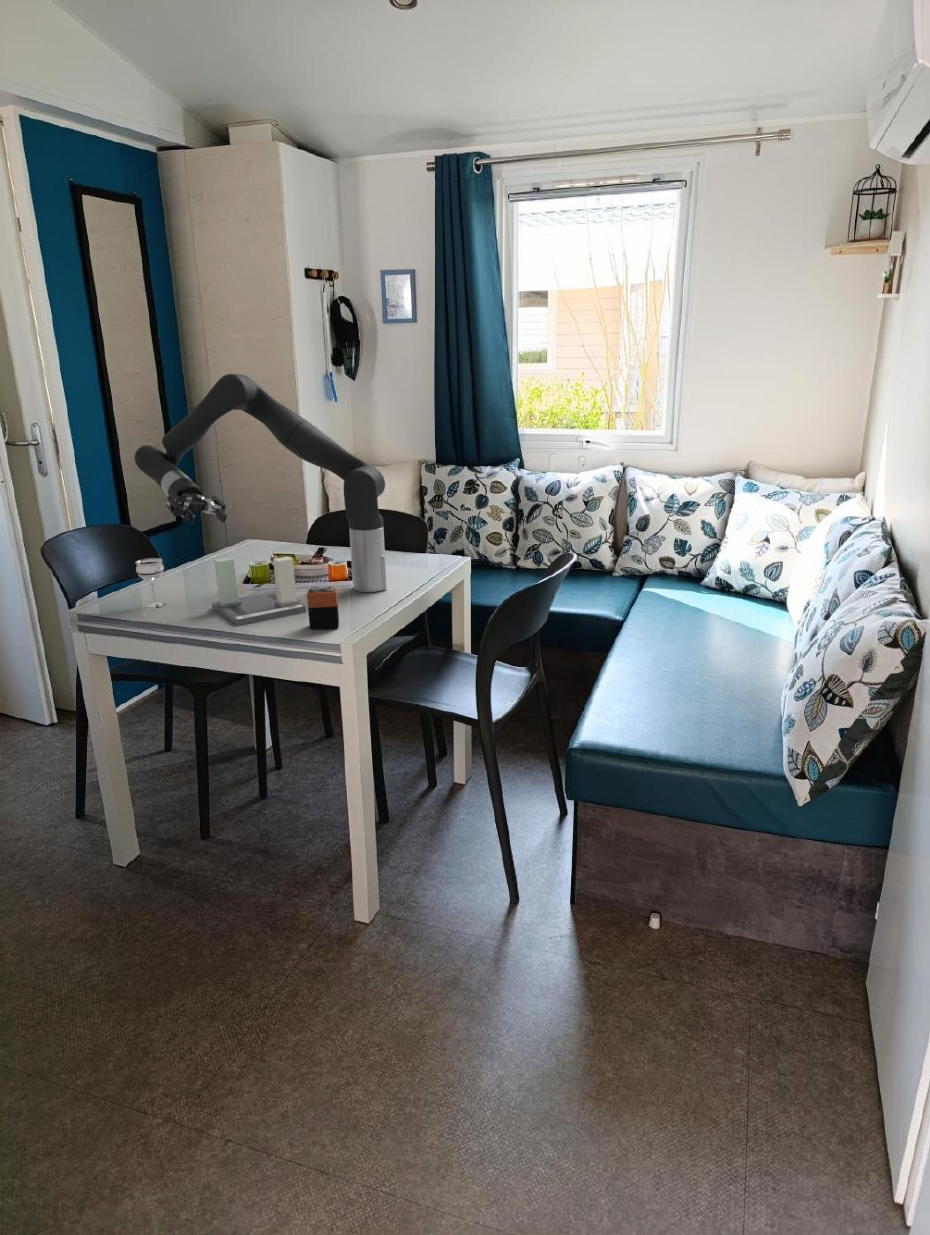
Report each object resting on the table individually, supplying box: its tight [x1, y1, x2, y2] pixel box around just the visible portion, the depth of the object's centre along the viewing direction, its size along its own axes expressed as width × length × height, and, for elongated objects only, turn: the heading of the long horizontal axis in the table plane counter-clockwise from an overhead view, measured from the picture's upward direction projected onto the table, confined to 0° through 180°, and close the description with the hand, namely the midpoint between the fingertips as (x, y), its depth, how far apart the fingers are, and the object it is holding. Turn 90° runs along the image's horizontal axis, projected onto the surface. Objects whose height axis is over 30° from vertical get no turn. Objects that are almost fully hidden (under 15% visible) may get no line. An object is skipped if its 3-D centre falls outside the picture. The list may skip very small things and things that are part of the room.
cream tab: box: [272, 556, 300, 607], centre depth 207 cm, size 4×5×12 cm
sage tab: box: [213, 556, 241, 608], centre depth 208 cm, size 4×5×12 cm
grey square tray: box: [211, 590, 307, 627], centre depth 210 cm, size 18×18×2 cm
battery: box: [306, 585, 340, 630], centre depth 195 cm, size 4×7×10 cm, turn 96°
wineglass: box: [135, 557, 165, 608], centre depth 214 cm, size 7×7×12 cm
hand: (209, 519), depth 209 cm, fingers open, 8 cm apart
